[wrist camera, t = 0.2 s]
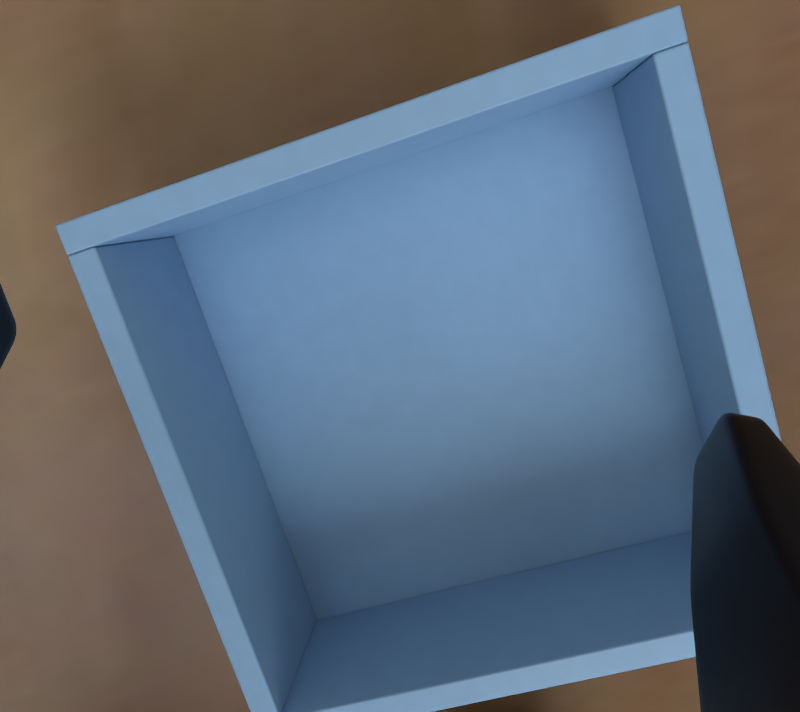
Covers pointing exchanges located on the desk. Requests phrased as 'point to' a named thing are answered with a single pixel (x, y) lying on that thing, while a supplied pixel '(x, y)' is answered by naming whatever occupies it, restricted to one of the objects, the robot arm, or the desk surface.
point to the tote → (441, 378)
